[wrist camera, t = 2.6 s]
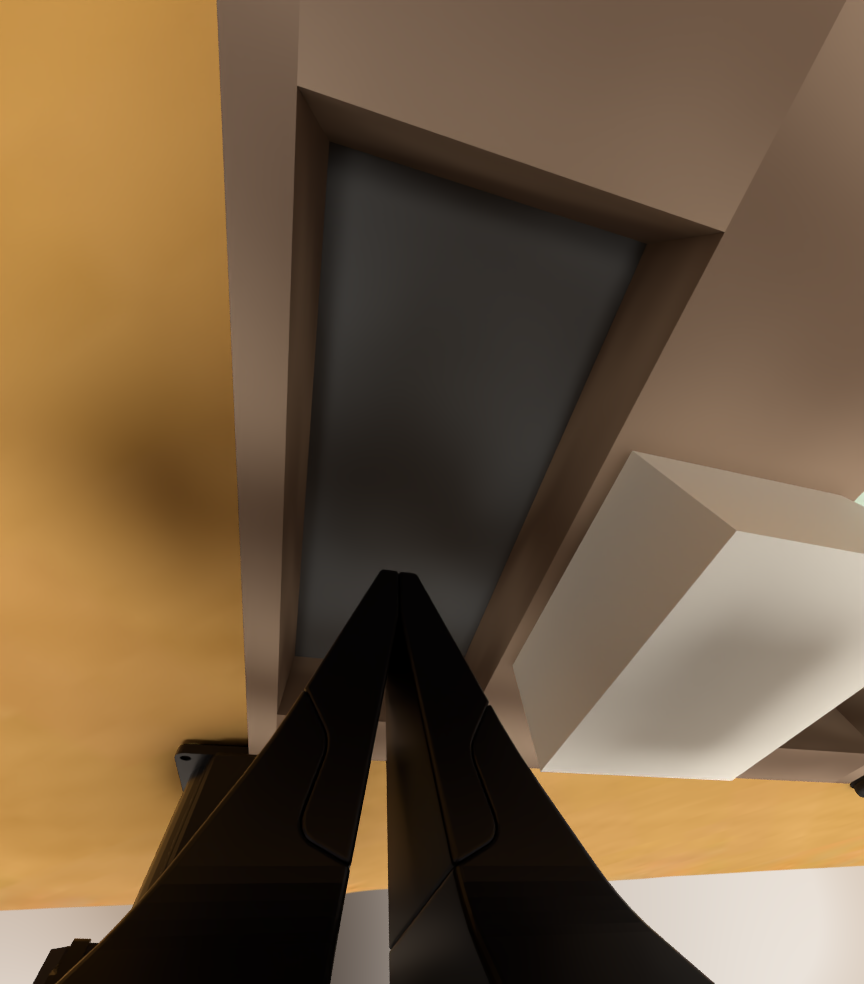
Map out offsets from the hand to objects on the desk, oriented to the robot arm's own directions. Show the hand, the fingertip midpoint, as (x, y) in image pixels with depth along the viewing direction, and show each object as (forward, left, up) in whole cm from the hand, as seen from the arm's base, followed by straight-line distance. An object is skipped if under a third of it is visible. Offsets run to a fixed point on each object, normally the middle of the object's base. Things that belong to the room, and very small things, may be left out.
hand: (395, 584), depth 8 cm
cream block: (0, -8, -1) cm, 8 cm away
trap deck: (0, -11, -4) cm, 12 cm away
